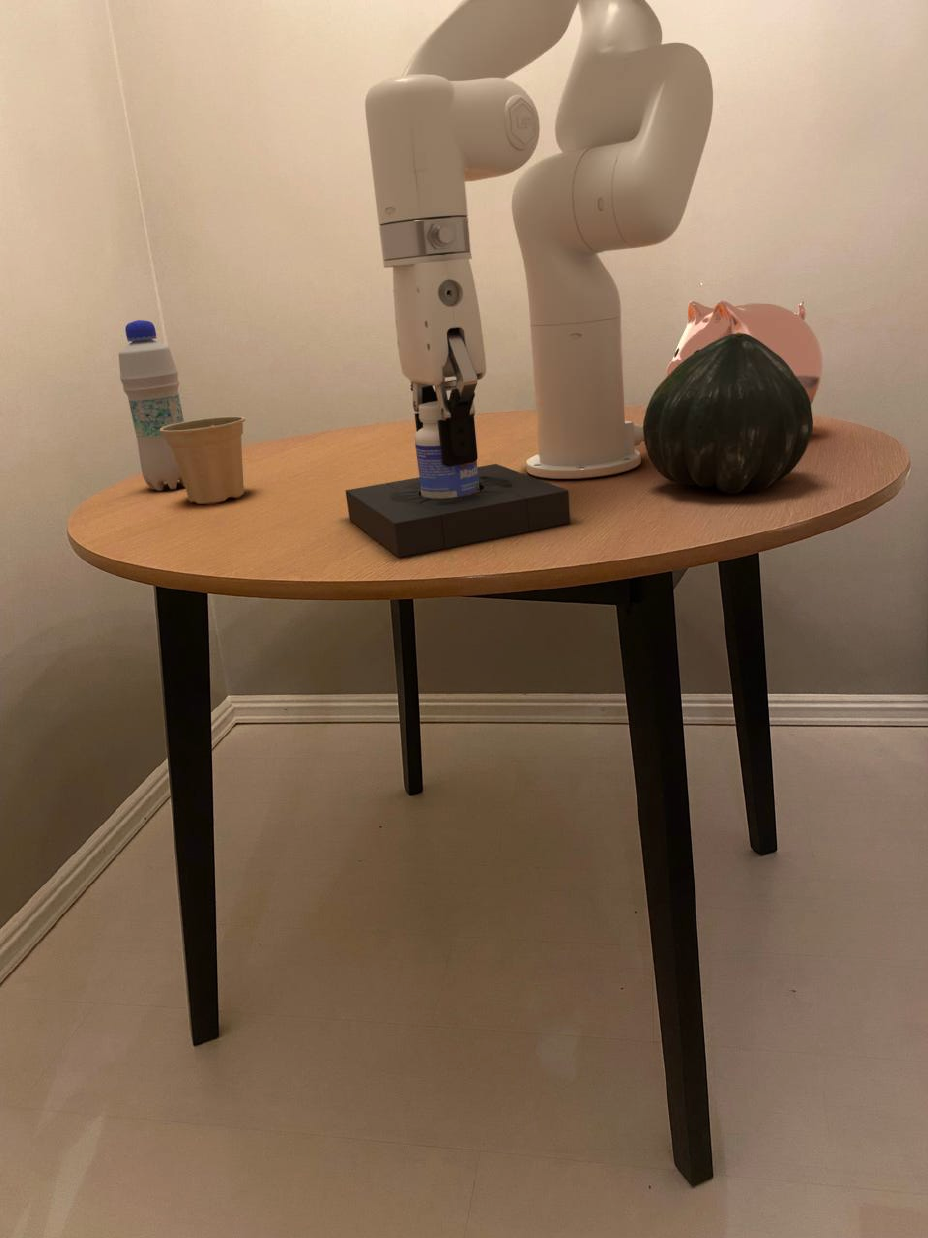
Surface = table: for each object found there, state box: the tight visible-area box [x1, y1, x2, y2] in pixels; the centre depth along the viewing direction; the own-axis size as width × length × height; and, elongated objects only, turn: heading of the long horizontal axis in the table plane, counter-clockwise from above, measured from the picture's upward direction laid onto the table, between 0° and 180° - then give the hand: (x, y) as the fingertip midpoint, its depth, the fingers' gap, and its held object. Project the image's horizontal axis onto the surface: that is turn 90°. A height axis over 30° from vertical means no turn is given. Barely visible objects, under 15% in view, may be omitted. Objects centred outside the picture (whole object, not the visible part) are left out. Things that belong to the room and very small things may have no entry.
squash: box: [642, 333, 814, 495], centre depth 88 cm, size 14×15×15 cm
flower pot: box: [160, 415, 246, 505], centre depth 107 cm, size 9×9×9 cm
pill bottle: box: [414, 399, 480, 498], centre depth 85 cm, size 5×5×10 cm
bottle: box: [117, 319, 185, 492], centre depth 114 cm, size 7×7×20 cm
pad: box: [345, 463, 571, 559], centre depth 87 cm, size 16×16×3 cm
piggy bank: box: [665, 300, 823, 437], centre depth 108 cm, size 15×18×16 cm
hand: (447, 456), depth 85 cm, fingers closed on pill bottle, 5 cm apart
